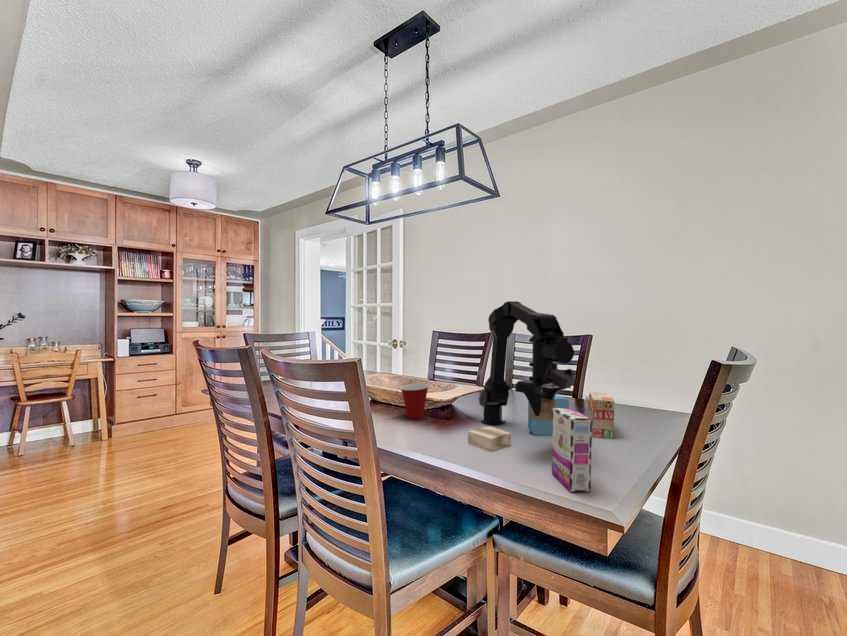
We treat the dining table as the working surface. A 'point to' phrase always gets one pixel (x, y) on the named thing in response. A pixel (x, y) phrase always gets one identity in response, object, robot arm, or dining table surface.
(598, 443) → the dining table surface
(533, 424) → the blue flat block
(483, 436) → the maple base block
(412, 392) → the plastic cup
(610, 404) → the stack of blocks
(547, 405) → the walnut cube
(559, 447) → the candy bar box
